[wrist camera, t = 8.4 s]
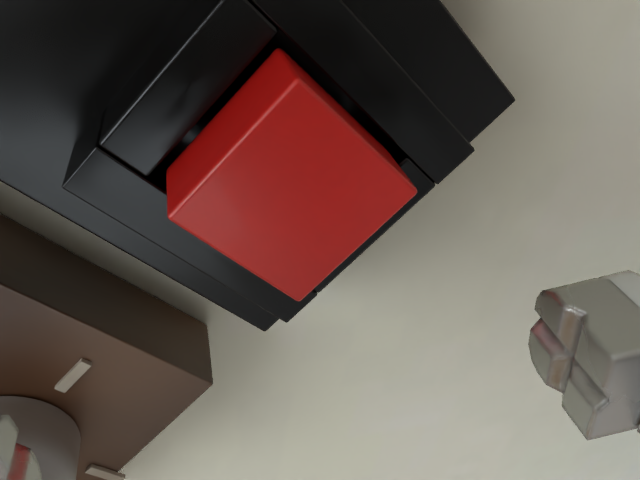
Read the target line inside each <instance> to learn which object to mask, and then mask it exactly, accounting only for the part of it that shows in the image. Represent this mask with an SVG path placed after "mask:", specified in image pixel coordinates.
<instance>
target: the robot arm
mask: <svg viewBox="0 0 640 480" xmlns="http://www.w3.org/2000/svg"><path fill="white" fill-rule="evenodd" d="M535 311H536V312H537V313H538V314H539V316H540V317H541V318H540V319H539V320H538V321H537V323H536V324H535V325H534V326H533V327H532V328H531V330H530V337H529V344H528V345H529V350H530V355H531V359H532V362H533V364H534V366H535V368H536V371H537V373H538V374H539V375H540V377H541V378H542V380H543V381H544V382H545V384H546V385H548V386H550V387H552V388H554V389H556V390H558V391H560V392H562V393H563V395H562V407H563V408H564V410H565V411H566V413H567V414H568V415H569V417H570V418H571V419H572V421H573V422H574V423H575V425H576V426H577V427H578V429H579V430H580V431H581V433H582V434H583V435H584V437H585V438H586V439H587V440H591V439H595V438H599V437H603V436H608V435H612V434H616V433H620V432H624V431H628V430H632V429H636V428H638V430H637V431H638V432H639V433H640V275H639V274H637V273H635V272H632V271H629V270H627V271H623V272H619V273H615V274H610V275H606V276H602V277H599V278H593V279H589V280H585V281H581V282H576V283H572V284H568V285H564V286H560V287H556V288H551V289H547V290H543V291H542V292H541V293H540V294H539V296H538V297H537V300H536V305H535ZM18 431H19V429H18V427H17V426H16V425H15V423H14V422H13V420H12V419H11V417H10V416H9V415H0V480H42V473H41V470H40V467H39V463H38V460H37V458H36V456H35V455H34V453H33V451H32V450H31V448H28V447H26V446H23V445H21V444H18V443H16V440H17V435H18Z"/></svg>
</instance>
